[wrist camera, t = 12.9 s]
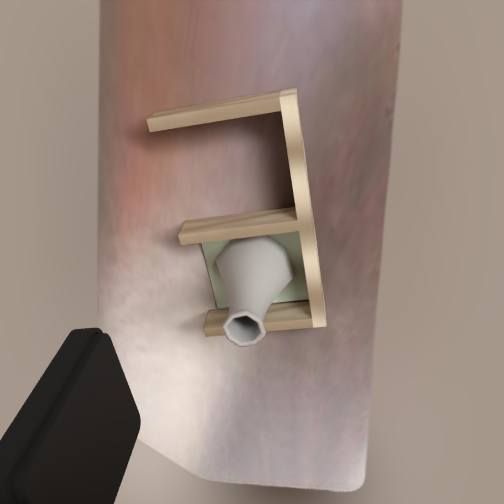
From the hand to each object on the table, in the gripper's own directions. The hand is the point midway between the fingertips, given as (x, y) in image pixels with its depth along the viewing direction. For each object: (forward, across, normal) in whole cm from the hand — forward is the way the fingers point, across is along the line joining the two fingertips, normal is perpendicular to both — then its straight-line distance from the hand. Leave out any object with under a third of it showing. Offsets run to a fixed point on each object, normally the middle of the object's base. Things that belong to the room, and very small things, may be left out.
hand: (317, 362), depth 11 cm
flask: (+31, +6, +16) cm, 35 cm away
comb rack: (+31, +6, +11) cm, 33 cm away
